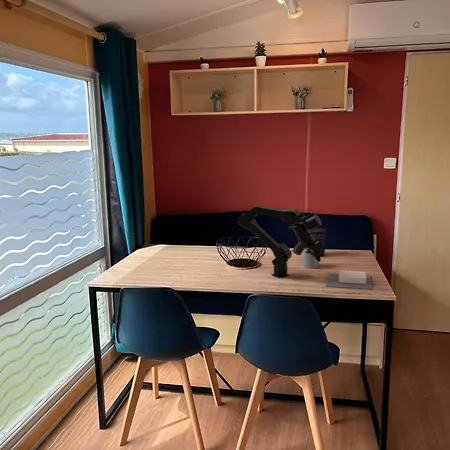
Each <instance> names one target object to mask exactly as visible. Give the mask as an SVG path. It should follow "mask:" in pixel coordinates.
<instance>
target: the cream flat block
mask: <svg viewBox="0 0 450 450" xmlns="http://www.w3.org/2000/svg"><path fill="white" fill-rule="evenodd" d="M338 273H339V283H348V284H365V285H366V275H367V274H366V271H357V270H354V271H353V270H339V271H338Z"/></svg>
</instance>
